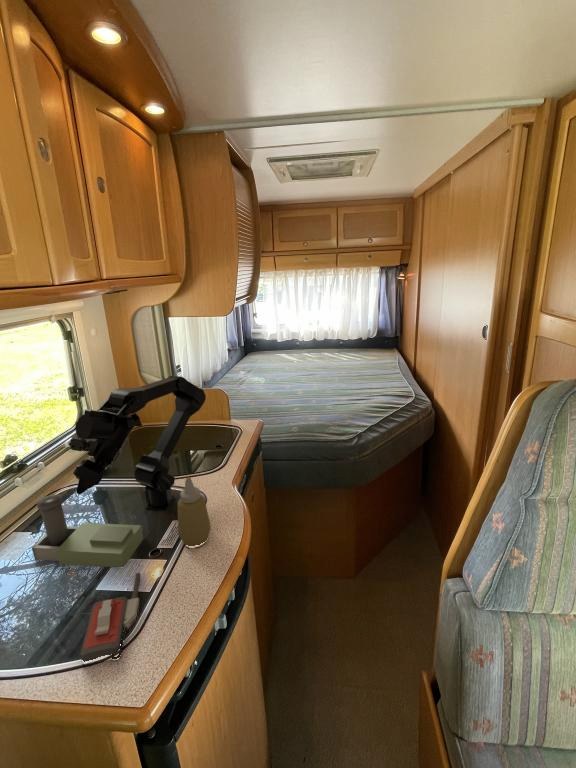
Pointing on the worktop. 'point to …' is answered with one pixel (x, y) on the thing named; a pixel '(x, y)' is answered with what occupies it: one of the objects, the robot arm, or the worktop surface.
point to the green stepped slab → (93, 545)
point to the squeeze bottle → (192, 516)
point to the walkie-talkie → (109, 625)
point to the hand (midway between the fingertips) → (85, 483)
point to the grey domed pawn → (53, 519)
